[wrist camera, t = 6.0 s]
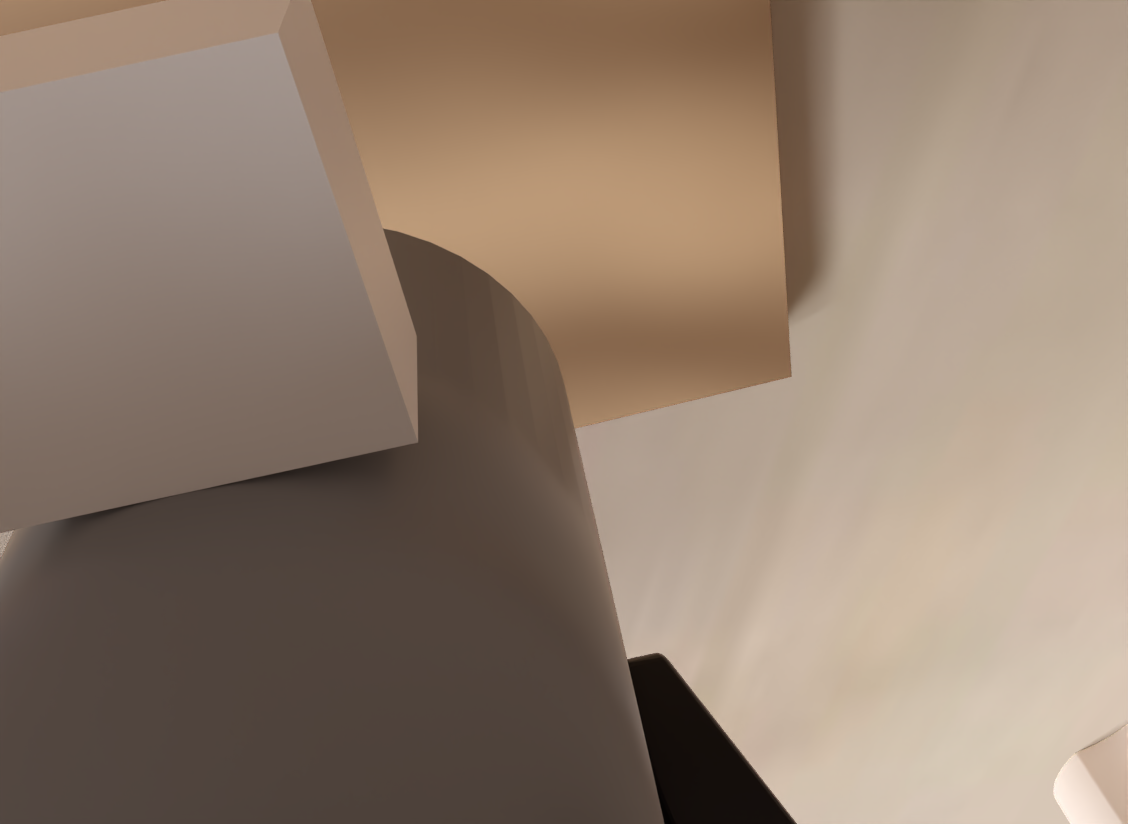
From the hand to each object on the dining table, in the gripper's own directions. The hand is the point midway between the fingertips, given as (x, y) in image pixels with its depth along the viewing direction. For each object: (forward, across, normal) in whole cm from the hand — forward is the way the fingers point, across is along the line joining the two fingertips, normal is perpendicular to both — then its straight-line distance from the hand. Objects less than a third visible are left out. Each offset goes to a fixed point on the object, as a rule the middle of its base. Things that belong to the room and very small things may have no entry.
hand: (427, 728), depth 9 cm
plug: (+1, 0, 0) cm, 1 cm away
